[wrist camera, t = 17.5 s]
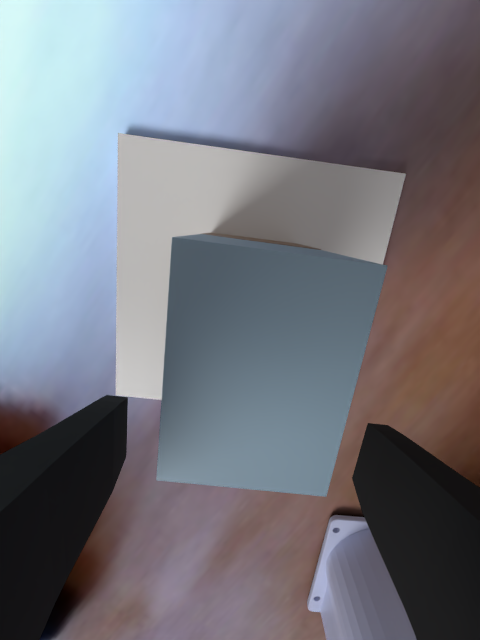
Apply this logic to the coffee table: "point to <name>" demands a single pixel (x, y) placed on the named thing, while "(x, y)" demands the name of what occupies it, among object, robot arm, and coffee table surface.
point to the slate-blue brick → (261, 362)
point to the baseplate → (226, 225)
